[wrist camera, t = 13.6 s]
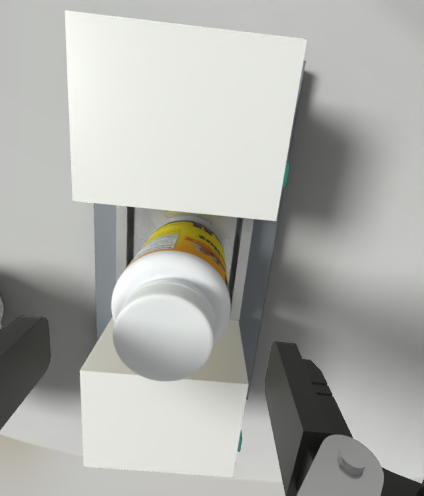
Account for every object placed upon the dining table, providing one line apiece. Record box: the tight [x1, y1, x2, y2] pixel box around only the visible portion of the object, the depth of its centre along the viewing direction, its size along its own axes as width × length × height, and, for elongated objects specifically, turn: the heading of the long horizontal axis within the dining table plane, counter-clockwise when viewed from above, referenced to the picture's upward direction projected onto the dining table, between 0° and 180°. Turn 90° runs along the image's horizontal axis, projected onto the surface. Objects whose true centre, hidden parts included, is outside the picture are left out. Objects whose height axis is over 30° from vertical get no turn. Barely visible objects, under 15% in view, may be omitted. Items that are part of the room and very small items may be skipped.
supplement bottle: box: [111, 220, 231, 382], centre depth 16 cm, size 6×6×10 cm
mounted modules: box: [65, 11, 307, 477], centre depth 18 cm, size 23×9×7 cm, turn 174°
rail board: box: [94, 61, 306, 400], centre depth 23 cm, size 26×13×2 cm, turn 174°
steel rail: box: [116, 205, 254, 321], centre depth 21 cm, size 25×9×1 cm, turn 174°
